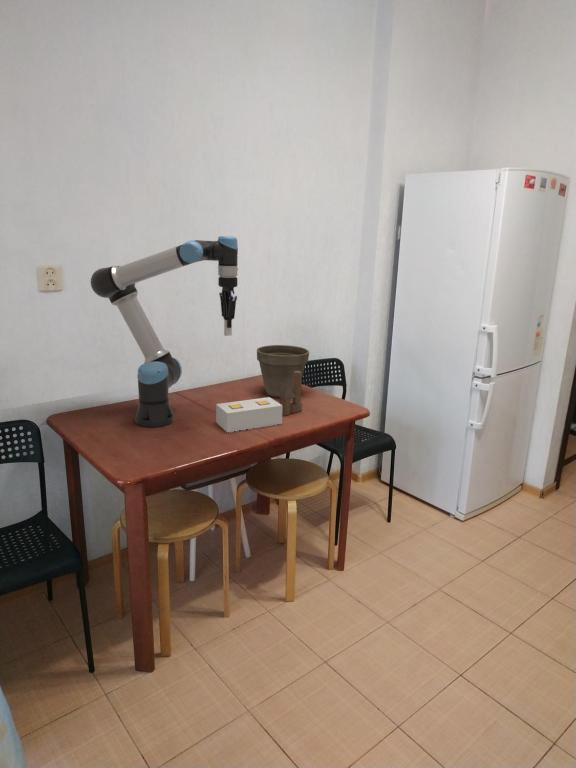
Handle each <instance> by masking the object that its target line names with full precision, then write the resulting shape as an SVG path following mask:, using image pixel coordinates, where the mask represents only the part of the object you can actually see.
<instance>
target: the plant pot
mask: <svg viewBox="0 0 576 768" xmlns="http://www.w3.org/2000/svg"><path fill="white" fill-rule="evenodd" d="M309 355H310V350H309V349H307V348H304V347H301V346H296V345H289V344H288V345H287V344H285V345H284V344H270V345H264V346H263V345H262V346H260V347H257V348H256V359H257V361H258V362H259V367H260V371H261V377H262V381H263V385H264V388H265V389H264V390H265V392H266V394H267V395H268V396H269V397H270V396H271V397H274V398H279V394H280V383H283V384H286V385H287V387H288V388H289V389H290V390H291V391H292V392H293V372H294V371H301V372H302V376H303V374H304V371H305V368H306V364H307V363H308V361H309V357H310V356H309ZM301 379H302V377H301Z"/></svg>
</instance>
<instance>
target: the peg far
mask: <svg viewBox="0 0 576 768" xmlns="http://www.w3.org/2000/svg"><path fill="white" fill-rule="evenodd" d="M256 403H257V404H258V405H268V404H269V403H268V402H267V401H258V402H256Z"/></svg>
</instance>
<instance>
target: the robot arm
mask: <svg viewBox="0 0 576 768" xmlns="http://www.w3.org/2000/svg"><path fill="white" fill-rule="evenodd" d="M217 238H218V240H214V241H213V240H199V239H195V240H192V239H191V240H189V241H186V242H184V243H183V244H180V245H177V246H174V247H172V248H169V249H165V250H163V251H160V252H157V253H155V254H152V255H149V256H146V257H143V258H139V259H138V260H134V261H132V262H128V263H126V264H124V265H112V266H108V267H107V266H106V267H102V268H98V269H96V270H95V271H94V272H93V273H92V275H91V278H90V287H91V289H92V290H93V292H94V293H95V295H97V296H99V297H100V298H105V299H108V300H109V302H110V304H111V305H113V306H116V307H117V308H118V310H119V312H120V314H121V316H122V317H123V320H124V321H125V323H126V326H127V327H128V329H129V331H130V333H131V334H132V336H133V338H134V340H135V342H136V344H137V346H138V348H139V349H140V351H141V353H142V356H143V357H144V362H143V364H141V365H139V367H138V369H137V377H136V378H137V386H138V387H137V388H138V389H137V390H138V406H137V409H136V413H135V417H134V418H135V424H136V425H138V426H141V427H146V428H158V427H165V426H168V425H170V424H172V423H173V422H174V420H175V419H174V417H175V415H174V412H173V410H172V407H171V405H170V400H169V399H170V398H169V396H170V395H169V389H170V388H171V387H172V386H173V385H175V384H176V383H178V381H179V380H180V378H181V377H182V373H183V372H182V371H183V369H182V365H181V363H180V361H179V360H178V359H177V358H175V357H173V356H172V354H171V353H170V351H169V350H166V349H165V348H164V346H163V344H162V342H161V341H160V339H159V338H158V335H157V333H156V331H155V330H154V328H153V326H152V324H151V322H150V320H149V318H148V317H147V315H146V312H145V311H144V309H143V307H142V306H141V303H140V301H139V300H138V297H137V296H138V293H139V291H138V289H137V287H136V284H137V283H139V282H142V281H145V280H146V281H147V280H148V279H151V278H153V277H154V278H155V277H157V276H160V275H162V274H165V273H168V272H171V271H174V270H177V269H179V268H183V267H186V266H189V265H191V264H194V263H198V262H203V261H210V262H211V261H214V262H215V261H216V262H217V261H218V263H217V264H218V266H217V269H218V271H217V272H218V278H217V279H218V280H217V281H218V283H217V284H218V286H219V288H222V289H221V292H219V294H218V295H219V300H220V310H221V312H220V313H221V317H222V318H223V329H224V330H223V335H224V336H225V337H229V336H230V337H231V336H232V335H233V333H232V332H233V327H232V326H233V322H232V321H233V320H235V313H236V304H237V300H238V296H237V295H235V288H237V287H238V277H237V276H238V271H239V268H238V257H239V256H238V254H239V253H238V251H239V248H238V238H237V237H236V236H233V235H231V236H230V235H228V236H227V235H220V236H218V237H217Z"/></svg>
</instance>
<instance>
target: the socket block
mask: <svg viewBox="0 0 576 768" xmlns="http://www.w3.org/2000/svg"><path fill="white" fill-rule="evenodd" d="M258 401H267V402H268V403H269V404H268V405H258V404H257V403H256V402H258ZM236 404H239V405H240V406H242V408H239V409H231V408H230V407H229V405H236ZM282 407H283V405H281V404H279V402H278V401H276V400H275V399H273V398H271V397H270V396H267V397H261V398H253V399H246V400H239V401H230V402H221V403H216V405H215V413H216V414H215V415H216V418H215V423H216V424H217V425H218V426H219V427H220V428H222V430H224V431H225V432H226V433H227V434H228V432H229V433H234V431H235V432H240V431H239V430H241V431H246V429H248V430H253V428H254V429H260V428H264V427H265V428H266V427H270V426H272V427H273V426H278V424H279V425H283V415H282Z"/></svg>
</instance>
